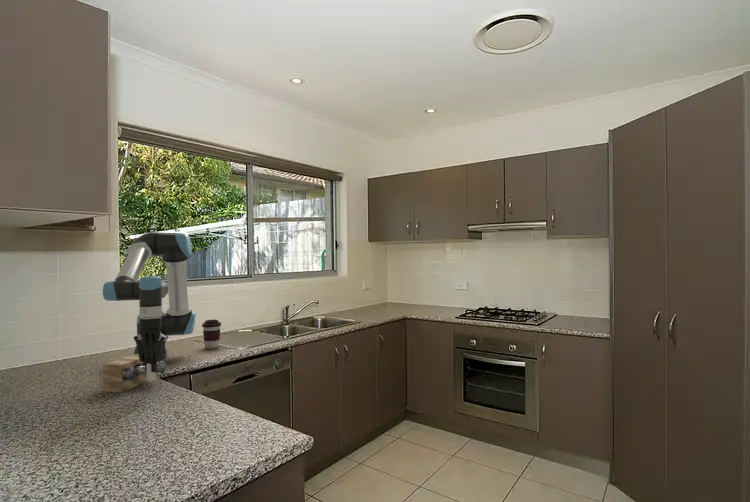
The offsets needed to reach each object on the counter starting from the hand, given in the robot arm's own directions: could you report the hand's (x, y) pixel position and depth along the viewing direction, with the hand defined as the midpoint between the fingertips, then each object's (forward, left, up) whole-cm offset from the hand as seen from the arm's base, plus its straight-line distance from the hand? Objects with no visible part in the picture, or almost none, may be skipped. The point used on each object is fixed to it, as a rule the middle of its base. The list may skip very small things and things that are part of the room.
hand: (151, 380), depth 156 cm
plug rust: (-6, -10, 0) cm, 11 cm away
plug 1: (0, -15, 0) cm, 15 cm away
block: (-6, -14, -4) cm, 16 cm away
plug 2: (-11, -10, 0) cm, 15 cm away
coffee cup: (-74, -18, -4) cm, 76 cm away
